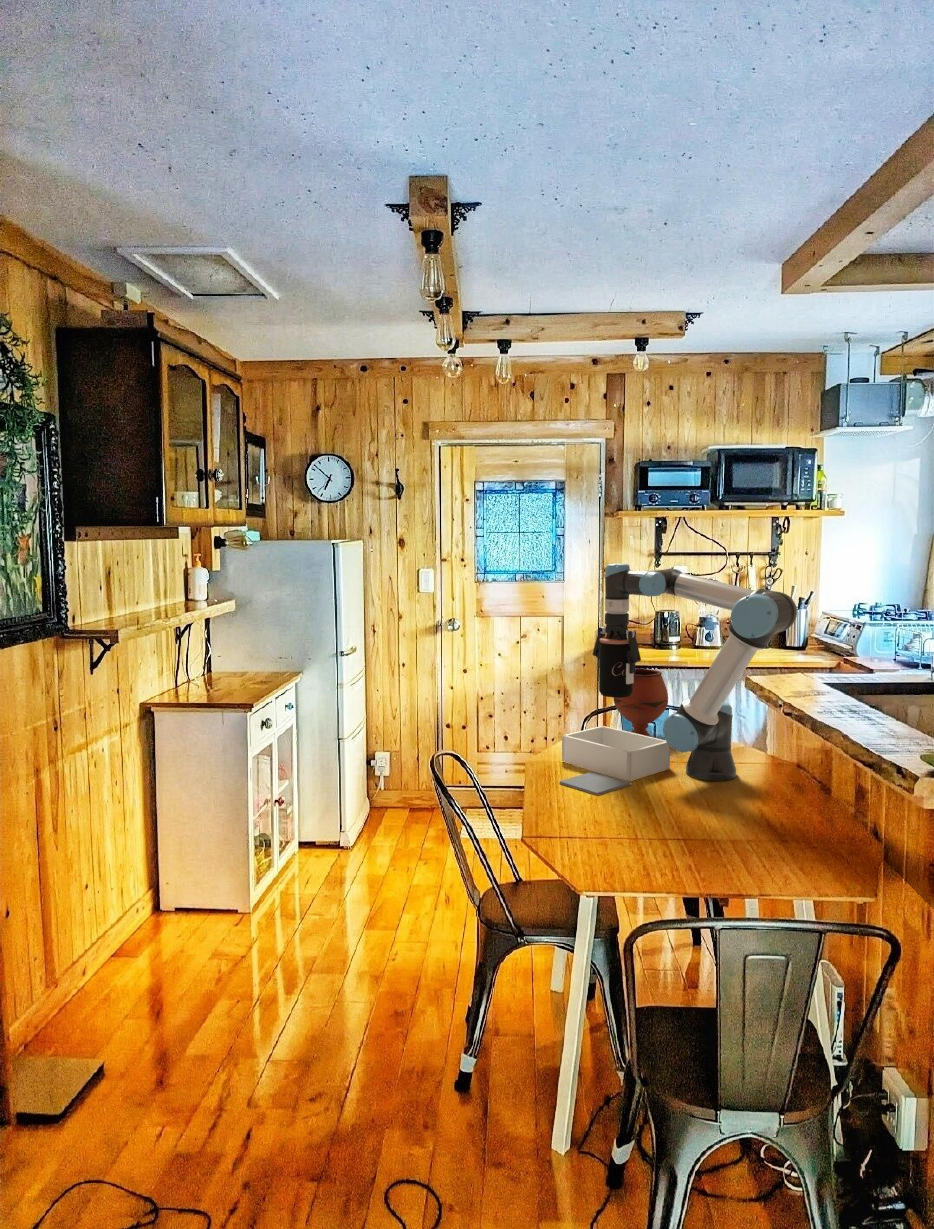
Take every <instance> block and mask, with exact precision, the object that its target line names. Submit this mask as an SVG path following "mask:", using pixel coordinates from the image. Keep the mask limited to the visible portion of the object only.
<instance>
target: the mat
mask: <svg viewBox="0 0 934 1229" xmlns="http://www.w3.org/2000/svg"><path fill="white" fill-rule="evenodd" d="M631 782H632V781H626V780H622V779H619V778H615V777H612V776H608V775H605V774H601V773H598V772H594V771H589V772H586V773H583V774H580V775H576V776H573V777H569V778H565V779H562V780H559V784H560V785H562V786H565V787H569V788H572V789H575V790H578V791H581V792H585V793H587V794H592V795H595V796H600V795H604V794H607V793H610V792H613V791H616V790H620V789H623V788H626V787H630V786H631Z"/></svg>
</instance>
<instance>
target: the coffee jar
mask: <svg viewBox="0 0 934 1229" xmlns="http://www.w3.org/2000/svg"><path fill="white" fill-rule="evenodd" d="M600 642H601V645H600V647H599V668H598V692H599V694H600V695H601V696H603V697H607V698H621V697H628V696H630V695H631V694H632V692H633V683H632V684H626V663H628V660H627V651H631V650H630V646H629V641H628V640H626V639H624V640H622V641H621V640H616V639H606V636H605V637H603V638H600Z"/></svg>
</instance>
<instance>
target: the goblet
mask: <svg viewBox="0 0 934 1229" xmlns="http://www.w3.org/2000/svg"><path fill="white" fill-rule="evenodd" d="M662 674H663V673H662V671H660V670H657V669H649V668H648V669H647V668H635V673H634V683H633V692H632V694H631V695H630V696H628V697H621V698H614V697H612V698H613V704H614V706H615V708H616V710H617V711H618V713H619V714H620V715H621V716H622V717H623V718H625V719H626V720H627V721H628V722H630V723H631V726H632V727H633V729H632V730H631V732H632V733H636V734H640V735H644V736H649V737H652V736H651V734H650V732H648V730H647V728H648V727H649V724H651V723H654V721H656V720H658V719H659V718H660V717H661V716H662V715H663V713H664V712H665V710H666V709H667V707H668V705H669V693H668V689H667V687H666V684H665V681H664V678H663V676H662Z"/></svg>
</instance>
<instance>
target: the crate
mask: <svg viewBox="0 0 934 1229" xmlns="http://www.w3.org/2000/svg"><path fill="white" fill-rule="evenodd" d="M670 757H671V747H670V746H669V745H668V743H667V742H666V740H665V739H663V738H662V739H660V738H656V737H652V736H651V737H649V736H644V735H640V734H636V733H632V731H627V730H623V729H618V728H614V727H609V726H605V725H601V726H597V727H592V728H587V729H584V730H578V731H575V732H571V733H567V734H563V735H562V736H561V762H562V761H565V762H567V763H569V764H568V765H570V764H572V765H571V766H573V765H574V767H577V768H581V769H584V770H587V771H590V772H596V773H599V774H603V775H606V776H610V777H613V778H617V779H620V780H624V781H627V782H633V781H634V780H635V781H636V780H639V779H641V778H645V777H648V776H652V775H654V774H659V773H661V772H664V771H668V770H670V768H671V767H670V764H671V762H670V760H671V758H670Z"/></svg>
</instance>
